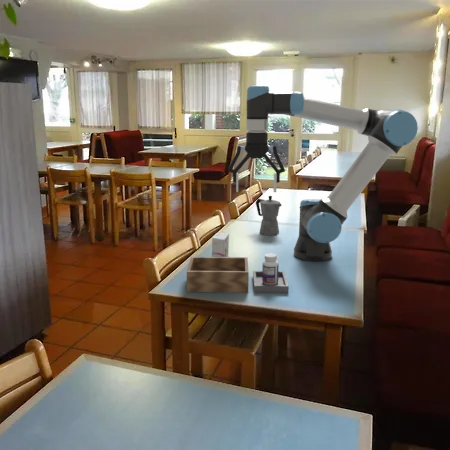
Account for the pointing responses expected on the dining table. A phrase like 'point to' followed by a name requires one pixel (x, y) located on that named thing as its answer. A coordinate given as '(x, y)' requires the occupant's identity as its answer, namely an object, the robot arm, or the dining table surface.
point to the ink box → (220, 245)
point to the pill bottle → (270, 269)
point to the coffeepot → (268, 216)
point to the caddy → (218, 274)
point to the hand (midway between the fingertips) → (256, 191)
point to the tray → (264, 288)
